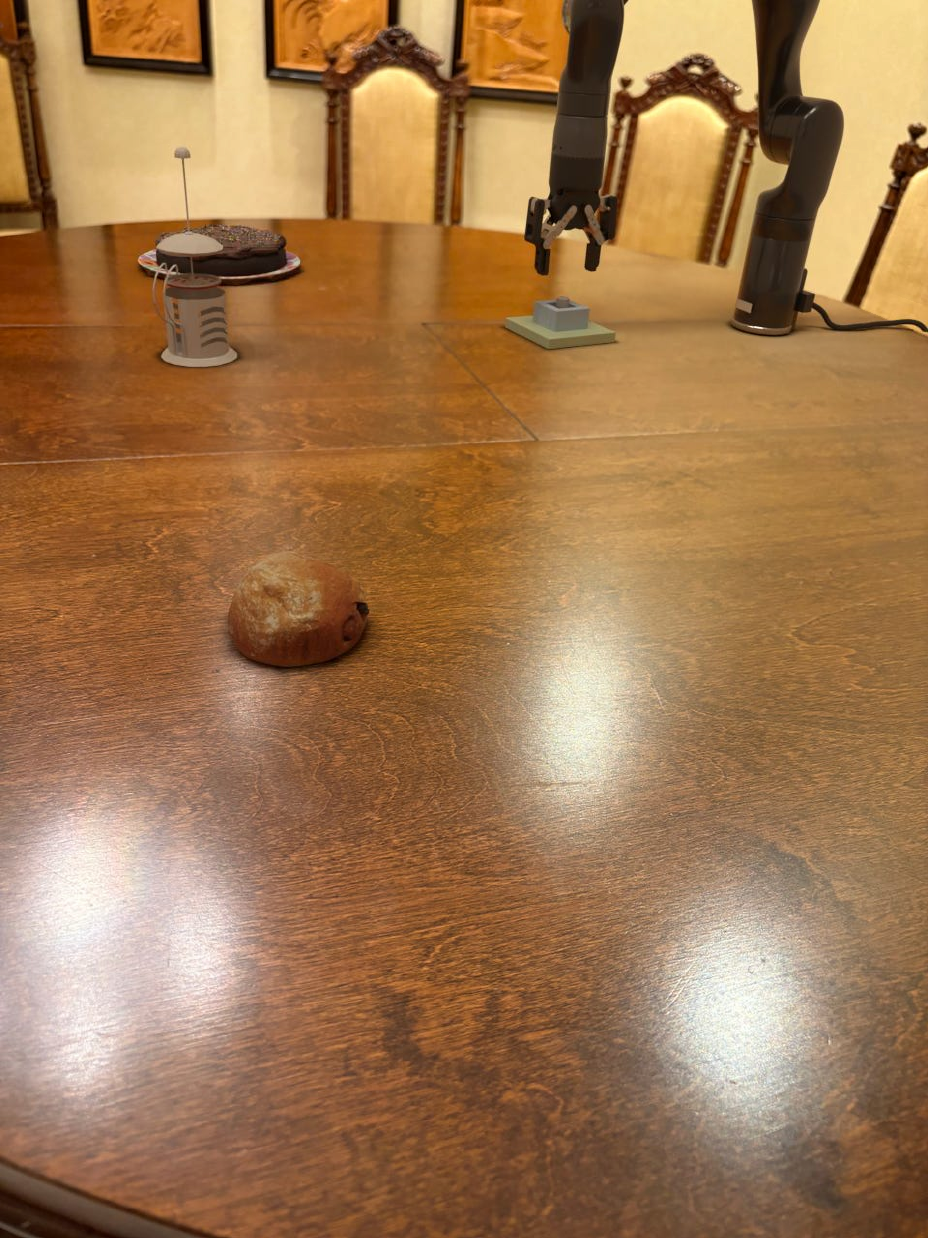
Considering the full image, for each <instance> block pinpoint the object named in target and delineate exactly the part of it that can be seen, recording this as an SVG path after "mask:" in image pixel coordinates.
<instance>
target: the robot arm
mask: <svg viewBox="0 0 928 1238" xmlns="http://www.w3.org/2000/svg"><path fill="white" fill-rule="evenodd" d="M628 2H629V0H563V2H562V5H561V10H560V11H561V13H560V15H561V18H560V19H561V23H562V26H563V28H564V30H565V32H566V33H567V34H568V36H569V38H568V44H567V45H568V47H567V54H566V62H565V66H564V67H563V68H562V70H561V73H560V76H559V82H558V91H557V102H556V114H555V119H554V125H553V130H552V140H551V150H550V163H549V173H548V174H549V175H548V186H549V194H548V197H547V198H539V197H536V196H530V198H528V203H527V211H526V220H525V227H524V235H523V239H524V241H525V242H527V243H530V244H532V245H534V247H535V254H534V266H533V267H534V270H535V271H536V273H537V274H538V275H540V276H548V275H549V273H550V264H551V263H550V261H551V252H552V251H551V250H552V249H551V248H550V247H551V246H552V244H553V243H554V241H555V239H556V238H557V237H560V236H561V234H562V233H563V231H572V230H574V229H575V230H580V231H581V230H582V231H583V232H584V234H585V236H586V238H587V240H588V242H586V246H585V257H584V267H583V268H584V270H585V271H587V272H590V273H592V272H596V271H597V269H598V268H599V265H600V263H601V262H600V261H601V252H602V246H603V245H604V243H605V242H607V241H612V240H614V239H615V237H616V226H617V225H616V224H617V213H618V212H617V210H618V197H617V196H615V195H613V194H609V193H603V194H602V195H600V190H601V189H602V187H603V182H604V181H603V180H604V171H605V163H606V162H605V161H606V154H607V145H608V144H607V143H608V136H609V135H608V134H609V133H608V131H609V127H608V121H609V120H608V119H609V117H608V116H609V111H610V110H609V109H610V102H611V92H612V77H613V73H614V69H615V66H616V63H617V58H618V55H619V50H620V47H621V46H620V45H621V42H622V41H621V40H622V36H623V31H624V23H625V5H626V4H627V3H628ZM820 2H821V0H751V6H752V12H753V21H754V22H753V24H754V35H755V50H756V51H755V52H756V65H757V133H758V134H757V135H758V142H759V146H760V149H761V151H762V154H763V156H764V157H766V159H767V160H768V161H770V162H773V163H775V164H780V165H784V166H787V169H786V172H785V175H784V178H783V179H782V182H780V184H778V185H776V186H775V187H772V188H770V189H769V188H768V189H766V190H763V191H761V192H759V194H758V196H757V199H756V203H755V207H754V213H753V218H752V223H751V228H750V234H749V239H748V243H747V247H746V253H745V256H744V257H745V258H744V263H743V266H742V272H741V278H740V281H739V287H738V291H737V296H736V301H735V307H734V311H733V315H732V318H731V325H732V327H734V328H736V329H738V330H741V331H743V332H747V333H752V334H755V335H756V334H757V335H764V336H765V335H766V336H781V335H786V334H787V335H788V334H789V333H790V332H791V331H794V330H795V327H796V323H797V319H798V315H799V313H802V314H806V313H811V312H812V309H813V310H814V311H816V312H817V313H818V314H819V315H820V316H821V318H822V319H823V322H824V324H825V325H826V326H827V327H828V328H830V329H831V330H835V331H840V332H841V331H853V330H865V329H872V328H879V327H881V328H882V327H893V326H903V325H911V326H915V327H917V328H918V329H919V330H921V331H922V332H924V333H928V326H927V325H926V324H924V323H923V322H922V321H920V320H917V319H913V318H900V319H893V320H875V321H870V322H860V323H850V324H837V323H835V322H833V321H832V320H831V318H830V316H829V314H828V313H827V311H826V309H824V308H823V306H821V305H819V304H817V302H815V296H816V294H815V293H813V292H810V291H807V290H805V286H806V280H807V277H808V273H809V272H808V271H809V270H808V269H807V268H806V263H807V258H808V254H809V250H810V246H811V242H812V237H813V233H814V228H815V224H816V220H817V216H818V212H819V209H820V207H821V205H822V204H823V202H824V200H825V199H826V196H827V194H828V191H829V187H830V184H831V180H832V178H833V173H834V170H835V167H836V163H837V160H838V156H839V153H840V150H841V147H842V146H841V145H842V141H843V137H844V129H845V116H844V112H843V109H842V107H841V105H840V104H839V103H838V102H836V101H834V100H832V99H828V98H821V97H812V96H805V95H804V94H803V88H802V80H801V55H802V54H801V53H802V49H803V46H804V44H805V43H804V42H805V40H806V38H807V36H808V33H809V30H810V28H811V25H812V24H813V21H814V19H815V16H816V14H817V11H818V8H819V5H820ZM598 210H599V221H598V219H597V217H596V212H597V211H598ZM547 211H548V213H549V214H548V215H547V217H546V218H545V220H544V216H545V215H546V214H547Z"/></svg>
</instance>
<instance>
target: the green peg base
mask: <svg viewBox="0 0 928 1238" xmlns="http://www.w3.org/2000/svg"><path fill="white" fill-rule="evenodd" d="M555 300H556V308H559V309H560V308H569V302H570V300H571V298H570V297H568V296H563V295H560V296H559V295H558V296H556V299H555ZM504 324H505V325H504V327H505V328H506V329H507V330H509V331H511V332H512V333H513V332H514V333H515V334H517V335H518V336H521V337H523V338H525V339H527V340H529V341H531V342H533V343H535V344H537V345H539V346H540V347H542V348H545V349H546V350H555V349H556V350H557V349H564V348H575V347H584V346H590V345H591V346H592V345H601V344H611V343H615V341H616V334H617V333H616V331H614V330H611V329H610V328H607V327H604V326H603V325H601V324H598V323H596V322H593V321H591V320H589V319H588V327H587V329H578V330H568V331H558V332H554V331H552V330H550V329H548V328H546V327H544V326H541V325H539V324H537V323H535V322H533V314H532V315H523V316H510V317H505V323H504Z"/></svg>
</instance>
